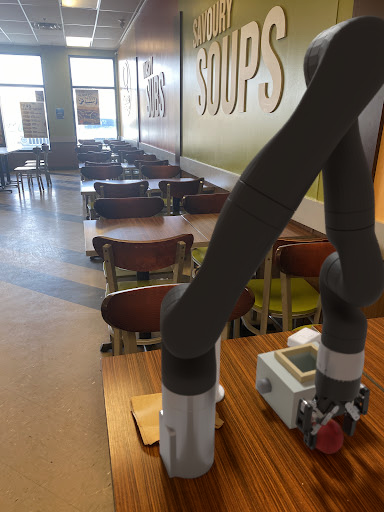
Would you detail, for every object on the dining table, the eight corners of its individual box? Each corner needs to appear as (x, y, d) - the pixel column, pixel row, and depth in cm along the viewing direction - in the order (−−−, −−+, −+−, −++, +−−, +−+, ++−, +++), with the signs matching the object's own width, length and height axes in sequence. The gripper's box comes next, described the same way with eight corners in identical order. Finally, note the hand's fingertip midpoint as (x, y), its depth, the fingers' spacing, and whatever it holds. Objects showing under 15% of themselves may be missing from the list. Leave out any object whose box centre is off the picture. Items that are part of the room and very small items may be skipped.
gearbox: (281, 432, 79) (286, 388, 76) (247, 389, 92) (250, 350, 88) (352, 410, 85) (359, 368, 82) (311, 373, 98) (316, 335, 94)
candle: (219, 407, 86) (223, 303, 78) (189, 399, 88) (189, 298, 80) (227, 387, 92) (231, 289, 84) (198, 381, 94) (200, 285, 86)
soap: (304, 335, 115) (305, 326, 114) (321, 342, 112) (322, 333, 111) (286, 346, 110) (287, 336, 109) (303, 354, 106) (304, 344, 105)
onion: (334, 439, 78) (339, 406, 75) (345, 463, 72) (351, 428, 69) (304, 439, 77) (309, 406, 75) (314, 464, 72) (319, 429, 69)
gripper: (319, 388, 63) (309, 466, 68) (387, 368, 67) (374, 443, 73) (291, 362, 69) (285, 435, 75) (356, 346, 74) (345, 416, 79)
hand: (329, 439), depth 74 cm, fingers open, 8 cm apart
